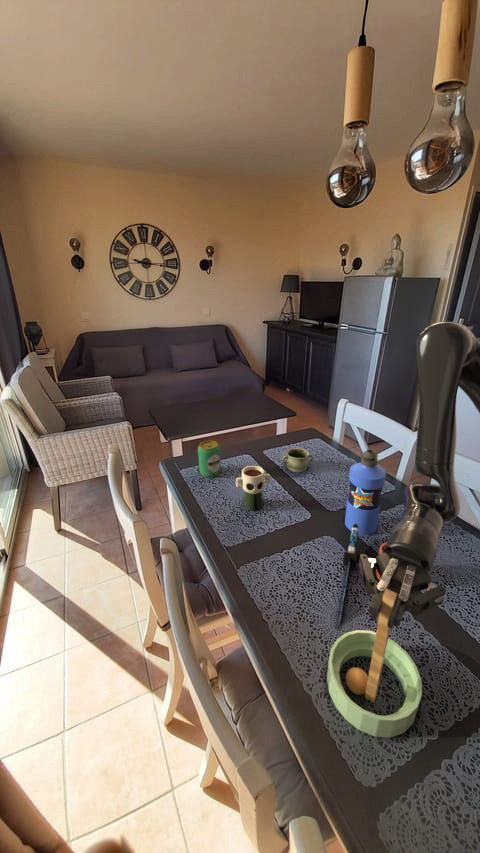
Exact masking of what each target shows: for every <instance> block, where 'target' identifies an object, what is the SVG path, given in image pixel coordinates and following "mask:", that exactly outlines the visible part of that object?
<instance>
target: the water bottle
mask: <svg viewBox="0 0 480 853" xmlns="http://www.w3.org/2000/svg"><path fill="white" fill-rule="evenodd" d="M378 457H379V456H378V454H377V453H376V452H375V450H374V449H366V450H365V451H364V452H362V455H361V457H360V458H361V459H360V462H356V463H354V464H352V465H350V469H349V476H348V479H349V480H348V481H349V493H348V496H347V499H346V506H345V507H346V508H345V517H344V526H345V527H346V528H347V529H348V530H349V531H350V532H352V531H351V530H352V527H353V525H354V524H357V525H358V535H362V536H368V535H372V534H374V533H376V531H377V530H378V523H379V517H380V510H381V495H382V491H383V489H384V486H385V482H386V477H387V472H386V469H384V467H382V466H381V465H378V461H379V459H378Z"/></svg>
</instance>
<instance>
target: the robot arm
mask: <svg viewBox="0 0 480 853" xmlns="http://www.w3.org/2000/svg"><path fill="white" fill-rule="evenodd" d="M414 349H415V350H414V352H415V361H416V369H417V371H416V372H417V378H418V379H417V380H418V398H419V402H418V405H419V406H418V419H417V420H418V421H417V431H416V441H415V442H416V443H415V456H414V469H415V471H417V472H418V473H419V474H420V475H423V476H425V477H427V478H430V479H432V480H434V481H436V482H437V484H434V483H430V482H429V483H428V482H423V481H412V482H410V483H409V484H407V485H406V486H405V488H404V491H403V495H402V496H403V497H402V498H403V509H404V510H403V513H402V515H401V518H400V519H399V522H398V523H397V524H396V526H395V527H394V529H393V531H392V532H391V535H390V536H389V537H388V541H387V542H386V543H387V544H386V546H385V548H384V550H383V552H382V554H380V555H379V554H378V555H376V557H375V558H372V557H369V556H368V555H367V554H365V553H361V554H360V555H359V563H358V570H359V573H360V577H361V580H362V585H363V588H364V591H365V593H366V594H369V595H372V598H371V599H370V602H369V607H368V614H370V615H371V616H370V617H371V618H370V619H371V620H374V621H375V622H377V621H378V619H379V615H380V611H381V605H382V599H383V595H384V592H385V590H386V589H388V590H390V591H391V589H394V590H396V591H398V592H399V594H398V596H397V598H396V601H395V603H394V606H393V607H392V610H391V613H390V615H389V618H388V623H387V627H389V628H390V630H393V628H394V627H395V628H398V627H399V626H400V625H401V622H402V620H403V616H404V613H406V612H410V614H412V615H413V616H420V615H421V614H424V613H426V612H428V611H430V610H432V609H435V608H436V607H438V606H440V605H441V604H443V603H444V599H445V596H446V592H447V588H446V587H445V586H442V585H437V584H435V583H434V582H432V580H433V578H432V576H431V571H432V569H433V565H434V562H435V559H436V558H437V554H438V553H437V552H438V550H439V540H440V537H441V533H442V531H443V528H444V522H452V521H454V520H455V519H456V518H457V517H458V516H459V514H460V512H461V499H460V495H459V491H458V486H457V482H456V479H455V478H456V477H455V460H456V448H457V433H458V432H457V395H458V390H459V389H460V390H462V391H463V393H464V394H465V395H466V396H467V397H468V398H469V400H470V401H471V402H472V404H473V406H474V407H475V409H476V410H477V412H478V414H480V341H479V339H477V337H476V336H475V334H474V333H473V332H472V331H471V329H470V328H469V327H467V325H464V323H463V324H462V323H460V322H457V321H441V322H435V323H433V324H431V325H429V326H427V327H426V328H425V329H424V330H422V332H421V333H419V336H418V337H417V339H416V341H415V345H414ZM374 568H375V570H376V569H377V571H378V573H379V576H380V578H381V580H379V582H376V578H375V575H374ZM424 590H426V591H424ZM421 591H424V592H422V593H420V594H418V595H415V596H413V597H410V595H412V594H415V593H418V592H421Z"/></svg>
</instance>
